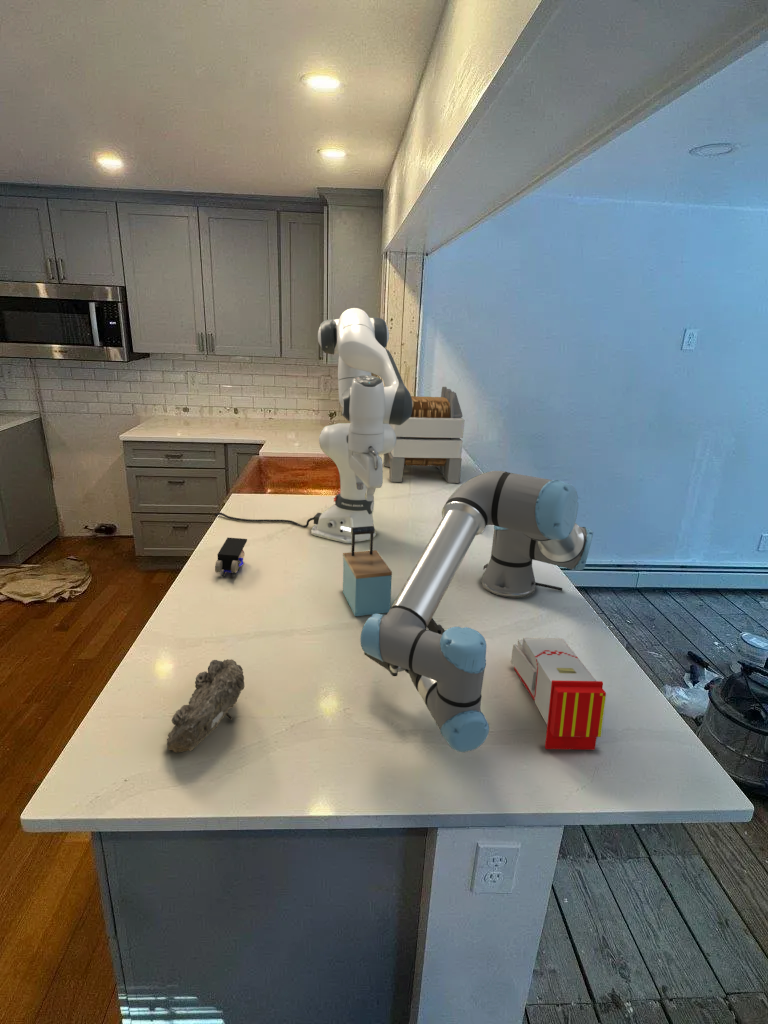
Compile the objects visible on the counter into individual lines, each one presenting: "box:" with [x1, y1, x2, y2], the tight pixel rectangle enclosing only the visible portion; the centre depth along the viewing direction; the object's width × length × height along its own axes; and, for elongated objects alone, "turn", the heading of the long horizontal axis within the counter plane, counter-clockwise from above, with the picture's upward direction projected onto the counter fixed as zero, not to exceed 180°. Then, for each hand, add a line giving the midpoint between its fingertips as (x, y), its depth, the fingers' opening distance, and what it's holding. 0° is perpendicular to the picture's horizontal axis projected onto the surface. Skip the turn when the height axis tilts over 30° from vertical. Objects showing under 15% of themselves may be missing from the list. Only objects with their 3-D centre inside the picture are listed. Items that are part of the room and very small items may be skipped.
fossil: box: [166, 658, 245, 754], centre depth 106 cm, size 22×10×15 cm
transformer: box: [382, 386, 465, 484], centre depth 268 cm, size 34×33×41 cm
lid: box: [342, 525, 393, 579], centre depth 148 cm, size 14×10×9 cm
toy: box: [510, 637, 607, 751], centre depth 115 cm, size 12×13×30 cm
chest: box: [342, 556, 393, 617], centre depth 151 cm, size 14×10×11 cm
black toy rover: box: [214, 537, 248, 578], centre depth 166 cm, size 7×8×15 cm
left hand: (364, 494), depth 148 cm, fingers open, 8 cm apart
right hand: (399, 623), depth 125 cm, fingers open, 13 cm apart
